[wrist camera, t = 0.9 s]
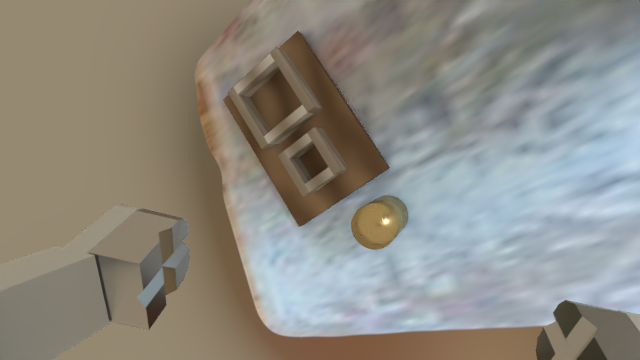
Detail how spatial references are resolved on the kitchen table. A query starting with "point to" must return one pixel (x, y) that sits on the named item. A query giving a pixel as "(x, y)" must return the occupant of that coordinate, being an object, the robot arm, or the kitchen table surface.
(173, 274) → the robot arm
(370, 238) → the gold metal cylinder
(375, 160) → the socket board
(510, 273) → the kitchen table surface
